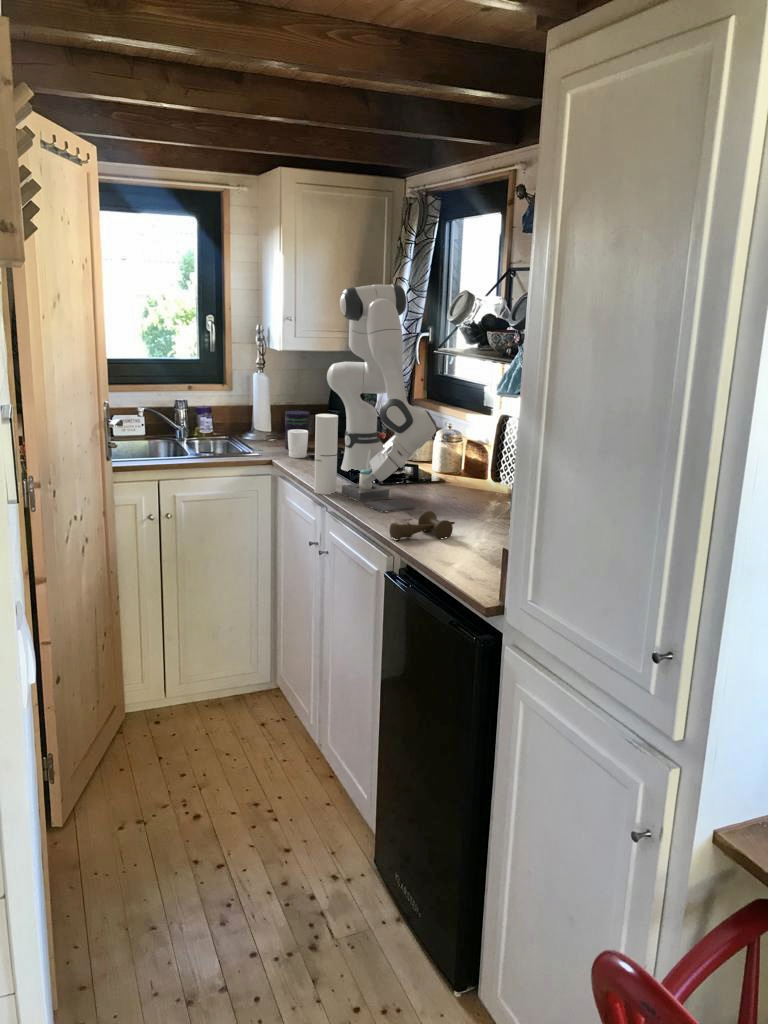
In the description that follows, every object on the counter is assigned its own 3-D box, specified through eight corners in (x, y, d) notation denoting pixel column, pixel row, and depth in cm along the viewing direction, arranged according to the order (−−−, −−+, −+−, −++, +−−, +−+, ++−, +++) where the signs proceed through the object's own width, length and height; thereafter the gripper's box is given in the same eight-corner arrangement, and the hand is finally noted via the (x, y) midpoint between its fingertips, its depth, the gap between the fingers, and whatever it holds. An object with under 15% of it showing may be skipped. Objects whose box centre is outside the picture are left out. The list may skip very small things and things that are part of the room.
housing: (370, 490, 277) (370, 482, 277) (388, 498, 269) (389, 489, 268) (341, 494, 271) (342, 485, 271) (359, 502, 263) (360, 492, 262)
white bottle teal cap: (367, 494, 273) (368, 468, 270) (373, 497, 269) (374, 471, 267) (356, 495, 270) (357, 469, 268) (363, 498, 267) (364, 472, 265)
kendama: (383, 537, 229) (444, 527, 239) (401, 548, 221) (464, 538, 231) (384, 516, 228) (445, 507, 237) (402, 526, 220) (465, 517, 229)
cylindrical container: (333, 495, 270) (334, 418, 263) (311, 493, 271) (312, 416, 265) (338, 490, 277) (340, 414, 270) (317, 488, 278) (319, 413, 272)
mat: (396, 500, 266) (396, 499, 266) (414, 508, 258) (414, 506, 258) (364, 505, 260) (364, 503, 259) (382, 512, 252) (382, 510, 251)
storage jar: (281, 447, 344) (281, 410, 340) (303, 445, 349) (303, 410, 345) (290, 451, 336) (290, 414, 332) (312, 450, 340) (313, 413, 336)
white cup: (283, 455, 328) (283, 430, 325) (300, 453, 333) (300, 428, 330) (295, 459, 322) (295, 433, 319) (311, 457, 327) (312, 431, 324)
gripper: (386, 439, 276) (355, 467, 278) (391, 451, 256) (358, 481, 258) (398, 452, 278) (368, 481, 279) (405, 466, 258) (372, 496, 260)
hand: (363, 481), depth 269 cm, fingers closed on white bottle teal cap, 4 cm apart
